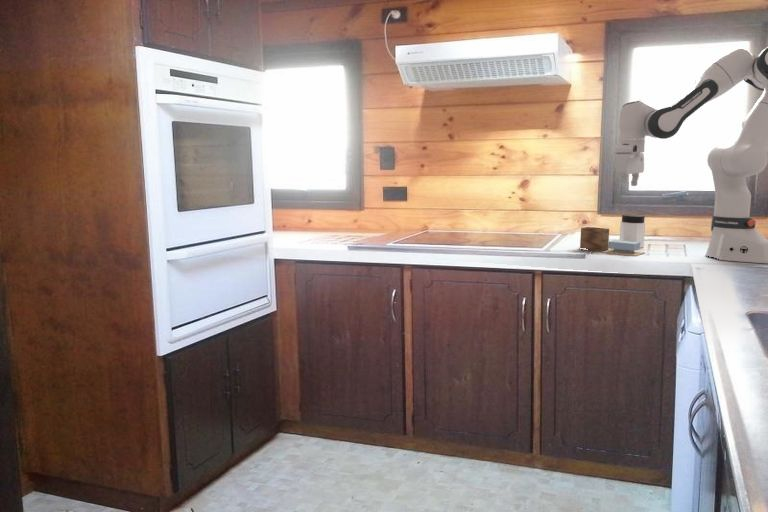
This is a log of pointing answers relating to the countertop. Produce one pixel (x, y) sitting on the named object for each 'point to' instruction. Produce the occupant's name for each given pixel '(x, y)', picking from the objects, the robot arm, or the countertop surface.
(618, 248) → the lid
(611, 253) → the mat
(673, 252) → the countertop surface
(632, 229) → the jar
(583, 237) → the box
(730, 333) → the countertop surface
